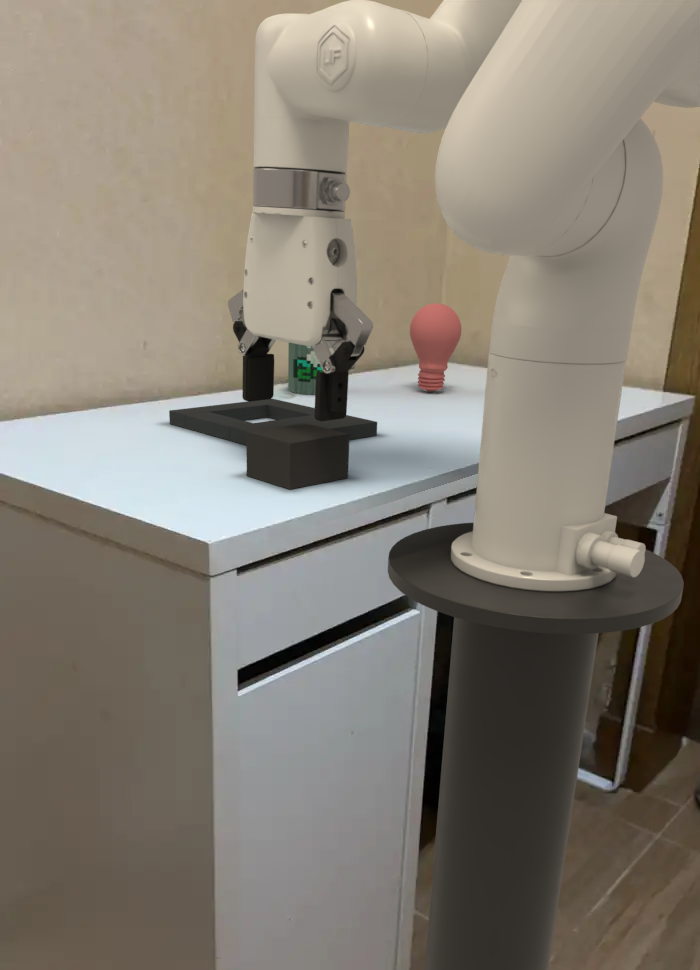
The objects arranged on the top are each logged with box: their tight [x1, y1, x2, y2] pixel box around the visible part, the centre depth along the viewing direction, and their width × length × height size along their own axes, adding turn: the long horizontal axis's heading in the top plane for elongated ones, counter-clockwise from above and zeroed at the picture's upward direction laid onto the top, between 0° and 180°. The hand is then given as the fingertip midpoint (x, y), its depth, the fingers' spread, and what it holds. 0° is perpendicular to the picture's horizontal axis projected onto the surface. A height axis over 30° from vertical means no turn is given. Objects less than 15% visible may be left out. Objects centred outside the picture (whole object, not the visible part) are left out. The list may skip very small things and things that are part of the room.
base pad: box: [168, 398, 378, 446], centre depth 104 cm, size 18×15×2 cm
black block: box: [245, 423, 350, 490], centre depth 84 cm, size 6×7×4 cm
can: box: [287, 342, 334, 396], centre depth 127 cm, size 6×6×15 cm
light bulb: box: [409, 302, 462, 393], centre depth 130 cm, size 7×7×12 cm
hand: (292, 409), depth 83 cm, fingers open, 9 cm apart
